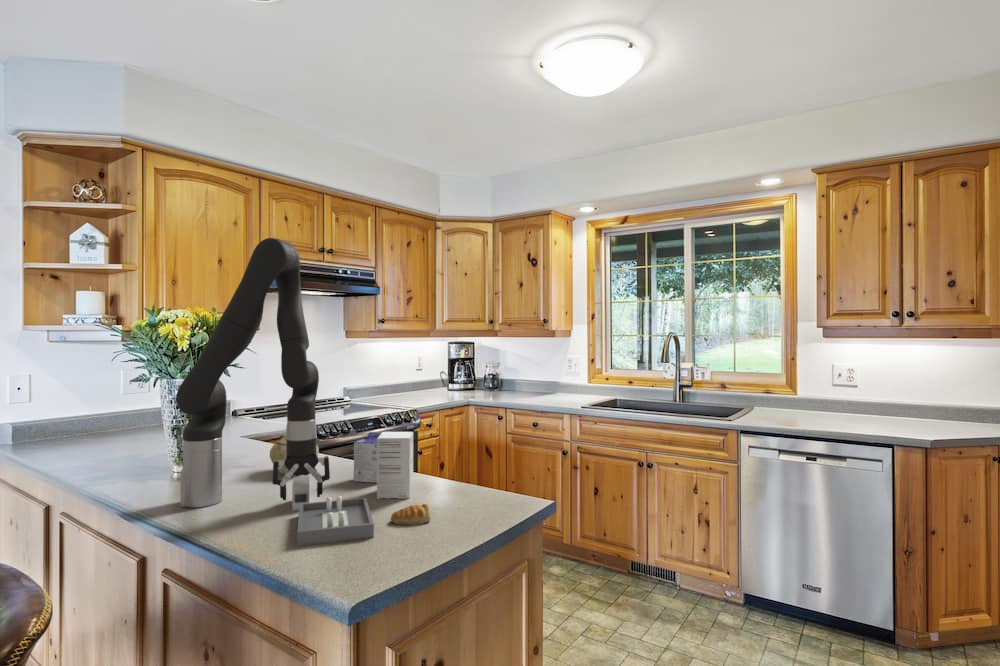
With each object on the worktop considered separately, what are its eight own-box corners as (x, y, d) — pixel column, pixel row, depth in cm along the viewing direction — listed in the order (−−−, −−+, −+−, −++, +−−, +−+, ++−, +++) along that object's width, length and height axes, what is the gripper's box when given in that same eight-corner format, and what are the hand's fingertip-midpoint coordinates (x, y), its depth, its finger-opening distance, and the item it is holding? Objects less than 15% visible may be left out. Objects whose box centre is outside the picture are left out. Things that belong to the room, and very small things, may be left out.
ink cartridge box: (390, 478, 168) (390, 432, 168) (383, 483, 163) (383, 435, 163) (361, 477, 170) (361, 431, 170) (353, 481, 165) (353, 434, 165)
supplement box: (381, 489, 157) (381, 431, 157) (413, 488, 158) (413, 431, 158) (376, 499, 148) (376, 437, 148) (410, 498, 148) (410, 437, 148)
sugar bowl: (331, 472, 175) (331, 426, 175) (287, 482, 164) (287, 433, 164) (300, 462, 188) (300, 419, 188) (257, 471, 177) (257, 425, 177)
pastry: (393, 528, 127) (393, 512, 127) (388, 519, 133) (388, 503, 133) (432, 523, 130) (432, 507, 130) (426, 514, 136) (426, 499, 136)
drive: (292, 511, 138) (292, 486, 138) (293, 500, 147) (293, 476, 147) (308, 510, 139) (308, 485, 139) (309, 499, 148) (309, 475, 148)
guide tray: (297, 546, 116) (297, 522, 116) (300, 515, 135) (300, 495, 134) (373, 537, 121) (373, 514, 121) (366, 509, 140) (366, 489, 140)
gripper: (271, 441, 137) (271, 505, 137) (330, 437, 142) (330, 499, 142) (273, 435, 144) (273, 496, 144) (329, 432, 149) (329, 491, 149)
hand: (301, 497), depth 143 cm, fingers open, 8 cm apart
